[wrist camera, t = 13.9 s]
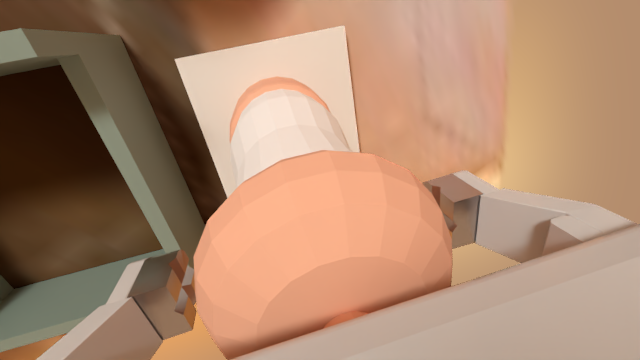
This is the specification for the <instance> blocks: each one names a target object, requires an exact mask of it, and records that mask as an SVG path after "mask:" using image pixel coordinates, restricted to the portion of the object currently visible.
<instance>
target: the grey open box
mask: <svg viewBox="0 0 640 360" xmlns="http://www.w3.org/2000/svg"><path fill="white" fill-rule="evenodd" d="M56 65H61V66H62V68H63V70H64V72H65V73H66V75H67V77H68V79H69V81H70V82H71V84H72V86H73V88H74V90H75V91H76V93H77V95H78V97H79V99H80V100H81V102H82V104H83V106H84V107H85V109H86V111H87V113H88V115H89V116H90V118H91V120H92V122H93V124H94V125H95V127H96V129H97V131H98V133H99V134H100V136H101V138H102V140H103V142H104V143H105V145H106V147H107V149H108V150H109V152H110V154H111V156H112V158H113V159H114V161H115V163H116V165H117V167H118V168H119V170H120V172H121V174H122V176H123V177H124V179H125V181H126V183H127V184H128V186H129V188H130V190H131V192H132V193H133V195H134V197H135V199H136V201H137V202H138V204H139V206H140V208H141V210H142V211H143V213H144V215H145V217H146V219H147V220H148V222H149V224H150V226H151V227H152V229H153V231H154V233H155V235H156V236H157V238H158V240H159V242H160V244H161V245H162V247H163V249H161V250H158V251H154V252H150V253H147V254H143V255H139V256H135V257H132V258H128V259H124V260H120V261H117V262H113V263H109V264H105V265H102V266H98V267H94V268H91V269H87V270H83V271H79V272H76V273H72V274H68V275H64V276H61V277H57V278H53V279H49V280H46V281H42V282H38V283H35V284H31V285H27V286H23V287H20V288H16V289H13V288H12V286H11V285H10V284H9V283H8V282H7V281H6V280H5V279H4V278H3V277H2V276H1V275H0V352H3V351H7V350H10V349H13V348H17V347H20V346H24V345H27V344H31V343H34V342H38V341H41V340H45V339H48V338H52V337H55V336H59V335H62V334H65V333H68V332H70V331H71V330H72V329H73V328H74V327H76V326H77V325H78V324H79V323H80V322H82V321H83V320H84V319H85V318H86V317H87V316H89V315H90V314H91V313H92V312H93V311H95V310H96V309H97V308H98V307H99V306H102V305H106V303H107V301H108V299H109V297H110V296H111V294H112V292H113V290H114V288H115V287H116V285H117V283H118V281H119V279H120V278H121V276H122V274H123V272H124V270H125V269H126V267H127V265H128V264H130V263H132V262H135V261H138V260H142V259H145V258H149V257H153V256H157V255H161V254H165V253H169V252H173V251H177V250H180V249H181V250H183V251H185V253H186V255H187V256H188V258H189V261H188V265H187V266H189V267H191V268H193V269H194V254H195V252H196V249H197V247H198V244H199V241H200V239H201V236H202V234H203V231H204V229H205V224H204V222H203V220H202V218H201V215H200V213H199V211H198V209H197V206H196V204H195V202H194V200H193V198H192V195H191V193H190V191H189V189H188V186H187V184H186V182H185V180H184V177H183V175H182V173H181V171H180V169H179V166H178V164H177V162H176V160H175V157H174V155H173V153H172V151H171V149H170V146H169V144H168V142H167V140H166V137H165V135H164V133H163V131H162V128H161V126H160V124H159V122H158V120H157V117H156V115H155V113H154V111H153V108H152V106H151V104H150V102H149V99H148V97H147V95H146V93H145V91H144V88H143V86H142V84H141V82H140V79H139V77H138V75H137V73H136V71H135V68H134V66H133V64H132V62H131V59H130V57H129V55H128V53H127V50H126V48H125V46H124V44H123V42H122V39H121V37H120V35H107V34H93V33H78V32H64V31H50V30H36V29H22V28H21V29H15V30H9V31H4V32H0V76H4V75H9V74H14V73H20V72H25V71H30V70H35V69H40V68H46V67H51V66H56Z"/></svg>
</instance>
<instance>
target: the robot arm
mask: <svg viewBox="0 0 640 360" xmlns="http://www.w3.org/2000/svg"><path fill="white" fill-rule="evenodd" d="M422 184H423V185H424V186H425V187H426V188H427V189H428V190H429V191H430V192H431V193H432V195H433V196H434V198H435V200H436V202H437V204H438V206H439V207H440V209H441V211H442V214H443V216H444V219H445V222H446V225H447V228H448V230H449V233H450V236H451V239H452V249H453V248H457V247H460V246H464V245H467V244H471V243H475V242H476V244H478V245H480V246H483V247H485V248H487V249H490V250H492V251H494V252H497V253H499V254H501V255H503V256H506V257H508V258H510V259H513V260H515V261H517V262H520V263H521V264H518V265H515V266H512V267H509V268H506V269H503V270H500V271H497V272H494V273H491V274H488V275H485V276H482V277H479V278H476V279H473V280H470V281H466V282H464V283H460V284H457V285H454V286H451V287H448V288H445V289H442V290H439V291H436V292H433V293H430V294H427V295H424V296H421V297H418V298H415V299H412V300H408V301H405V302H402V303H399V304H396V305H393V306H390V307H387V308H384V309H381V310H378V311H375V312H372V313H369V314H366V315H363V316H360V317H357V318H354V319H351V320H348V321H345V322H342V323H339V324H336V325H333V326H330V327H327V328H324V329H321V330H318V331H315V332H312V333H309V334H306V335H303V336H300V337H297V338H294V339H291V340H288V341H285V342H281V343H278V344H275V345H272V346H269V347H266V348H263V349H260V350H257V351H254V352H251V353H248V354H245V355H242V356H239V357H236V358H233V359H230V360H640V224H639V225H638V224H636V223H634V222H632V221H630V220H628V219H625V218H623V217H621V216H619V215H617V214H615V213H613V212H611V211H608V210H606V209H604V208H602V207H600V206H598V205H595V204H590V203H584V202H579V201H573V200H567V199H561V198H555V197H549V196H544V195H538V194H532V193H526V192H520V191H515V190H510V189H504V188H503V189H500V190H499V189H497V188H496V187H494V186H492V185H491V184H489V183H487V182H485V181H484V180H482V179H480V178H478V177H477V176H475V175H473V174H471V173H470V172H468V171H464V170H462V171H458V172H455V173H452V174H449V175H446V176H443V177H440V178H436V179H433V180H430V181H426V182H423V183H422ZM188 261H189V258H188V256H187V255H186V253H185V251H183V250H181V249H180V250H177V251H173V252H169V253H165V254H161V255H157V256H153V257H149V258H145V259H142V260H138V261H135V262H132V263H130V264H128V265H127V267H126V269H125V270H124V272H123V274H122V276H121V278H120V279H119V281H118V283H117V285H116V287H115V288H114V290H113V292H112V294H111V296H110V297H109V299H108V301H107V303H106V305H102V306H99V307H98V308H97V309H96V310H95V311H93V312H92V313H91V314H90V315H89V316H87V317H86V318H85V319H84V320H83V321H82V322H80V323H79V324H78V325H77V326H76V327H74V328H73V329H72V330H71V331H70V332H68V333H67V334H66V335H65V336H64V337H62V338H61V339H60V340H59V341H58V342H56V343H55V344H54V345H53V346H52V347H50V348H49V349H48V350H47V351H46V352H45V353H43V354H42V355H41V356H40V357H39V358H37V359H36V360H150V359H151V358H152V356H153V355H154V354H155V352H156V351H157V349H158V348H159V346H160V345H161V344H162V342H163V341H162V340H165V339H167V338H171V337H173V336H176V335H179V334H182V333H185V332H188V331H191V330H192V329H193V325H194V321H195V316H196V309H195V307H194V304H195V303H196V295H195V280H194V269H193V268H191V267H189V266H187V265H188Z"/></svg>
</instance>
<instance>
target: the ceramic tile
mask: <svg viewBox="0 0 640 360" xmlns="http://www.w3.org/2000/svg"><path fill="white" fill-rule="evenodd" d="M175 62H176V64H177V67H178V70H179V72H180V75H181V77H182V80H183V83H184V85H185V88H186V91H187V93H188V96H189V98H190V101H191V104H192V106H193V109H194V111H195V114H196V117H197V119H198V122H199V125H200V127H201V130H202V132H203V135H204V138H205V140H206V143H207V145H208V148H209V151H210V153H211V156H212V159H213V161H214V164H215V166H216V169H217V172H218V174H219V177H220V179H221V182H222V185H223V187H224V190H225V193H226V195H227V198H228V197H229V196H230V195H231V194H232V193H233V192H234V191H235V189H236V188H237V186H236V182H235V177H234V173H233V169H232V165H231V161H230V148H231V144H230V122H231V118H232V115H233V112H234V109H235V107H236V104H237V101H238V99H239V98H240V97H241V95H242V94H243V93H244V92H245V91H246V89H247V88H248V87H250V86H251V85H253V84H255V83H256V82H258V81H260V80H262V79H266V78H271V77H276V76H278V77H285V78H292V79H294V80H296V81H299V82H301V83H303V84H305V85H306V86H308V87H309V88H310V89H312V90H313V91H314V92H315V93H316V94H317V95H318V96H319V97H320V98H321V99H322V100H323V101H324V102H325V103H326V104H327V106H328V108H329V110H330V112H331V114H332V115H333V116H334V117H335V118H336V119H337V121H338V123H339V125H340V127H341V129H342V131H343V133H344V136H345V138H346V140H347V143H348V145H349V148H350V150H351V151H352V152H358V153H360V150H359V142H358V133H357V125H356V117H355V109H354V100H353V92H352V84H351V75H350V67H349V59H348V51H347V42H346V34H345V26H339V27H334V28H329V29H324V30H318V31H313V32H308V33H303V34H298V35H293V36H288V37H283V38H278V39H273V40H268V41H263V42H258V43H253V44H248V45H243V46H238V47H233V48H228V49H223V50H218V51H213V52H208V53H203V54H198V55H193V56H188V57H183V58H178V59H175Z"/></svg>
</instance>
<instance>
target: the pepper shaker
mask: <svg viewBox="0 0 640 360" xmlns="http://www.w3.org/2000/svg"><path fill="white" fill-rule="evenodd" d="M230 144H231V148H230V161H231V165H232V169H233V173H234V177H235V182H236V186H237V188H236V189H235V191H234V192H233V193H232V194H231V195H230V196H229V197H228V198H227V199H226V201H225V202H224V203H223V204H222V205H221V206H220V207H219V208H218V209H217V211H216V212H215V213H214V214H213V215H212V216H211V217H210V218H209V219H208V221H207V224H206V226H205V229H204V231H203V234H202V236H201V239H200V241H199V244H198V247H197V249H196V252H195V254H194V280H195V295H196V303H197V311H198V314H199V316H200V318H201V319H202V321H203V323H204V325H205V327H206V329H207V331H208V332H209V334H210V336H211V338H212V340H213V341H214V342H215V344H216V345H217V347H218V348H219V349H220V351H221V352H222V353H223V355H224V356H225V357H226V359H228V360H230V359H233V358H236V357H239V356H242V355H245V354H248V353H251V352H254V351H257V350H260V349H263V348H266V347H269V346H272V345H275V344H278V343H281V342H285V341H288V340H291V339H294V338H297V337H300V336H303V335H306V334H309V333H312V332H315V331H318V330H321V329H324V328H327V327H330V326H333V325H336V324H339V323H342V322H345V321H348V320H351V319H354V318H357V317H360V316H363V315H366V314H369V313H372V312H375V311H378V310H381V309H384V308H387V307H390V306H393V305H396V304H399V303H402V302H405V301H408V300H412V299H415V298H418V297H421V296H424V295H427V294H430V293H433V292H436V291H439V290H442V289H445V288H448V287H451V278H452V239H451V236H450V233H449V230H448V228H447V225H446V222H445V219H444V216H443V214H442V211H441V209H440V207H439V206H438V204H437V202H436V200H435V198H434V196H433V195H432V193H431V192H430V191H429V190H428V189H427V188H426V187H425V186H424V185H423V184H422V183H421V182H420V181H419V180H418V179H417V178H416V177H415V176H414V175H413V174H412V173H411V171H410V170H408V169H406V168H404V167H402V166H399V165H397V164H395V163H392V162H390V161H388V160H386V159H383V158H381V157H379V156H376V155H374V154H369V153H358V152H352V151H351V150H350V148H349V145H348V143H347V140H346V138H345V136H344V133H343V131H342V129H341V127H340V125H339V123H338V121H337V119H336V118H335V117H334V116H333V115H332V114H331V112H330V110H329V108H328V106H327V104H326V103H325V102H324V101H323V100H322V99H321V98H320V97H319V96H318V95H317V94H316V93H315V92H314V91H313V90H312V89H310V88H309V87H308V86H306V85H305V84H303V83H301V82H299V81H296V80H294V79H292V78H285V77H278V76H276V77H271V78H266V79H262V80H260V81H258V82H256V83H255V84H253V85H251V86H250V87H248V88H247V89H246V91H245V92H244V93H243V94H242V95H241V97H240V98H239V99H238V101H237V104H236V107H235V109H234V112H233V115H232V118H231V122H230Z"/></svg>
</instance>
